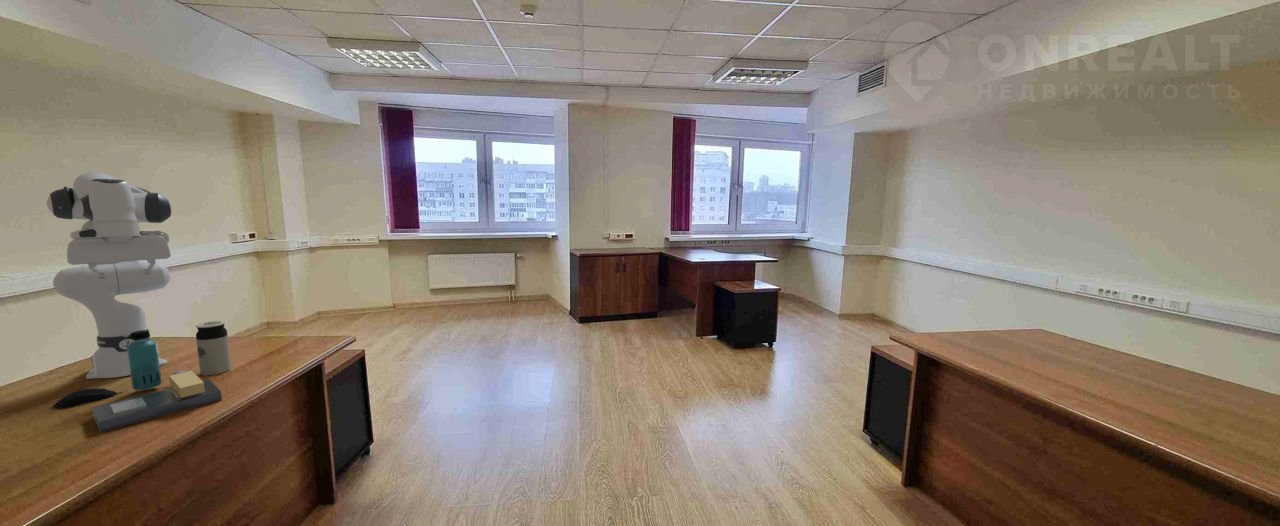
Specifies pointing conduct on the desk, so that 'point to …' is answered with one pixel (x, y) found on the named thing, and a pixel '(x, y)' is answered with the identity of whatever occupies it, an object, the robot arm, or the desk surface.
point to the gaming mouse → (84, 397)
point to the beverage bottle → (143, 361)
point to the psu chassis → (150, 406)
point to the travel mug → (213, 348)
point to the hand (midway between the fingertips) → (125, 276)
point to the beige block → (186, 383)
